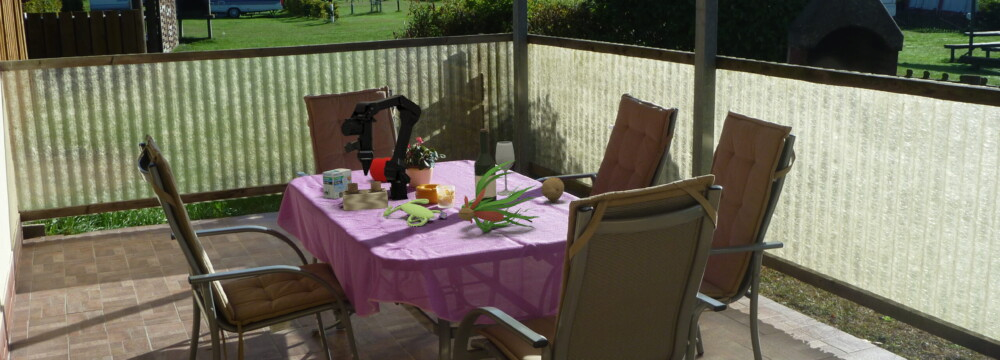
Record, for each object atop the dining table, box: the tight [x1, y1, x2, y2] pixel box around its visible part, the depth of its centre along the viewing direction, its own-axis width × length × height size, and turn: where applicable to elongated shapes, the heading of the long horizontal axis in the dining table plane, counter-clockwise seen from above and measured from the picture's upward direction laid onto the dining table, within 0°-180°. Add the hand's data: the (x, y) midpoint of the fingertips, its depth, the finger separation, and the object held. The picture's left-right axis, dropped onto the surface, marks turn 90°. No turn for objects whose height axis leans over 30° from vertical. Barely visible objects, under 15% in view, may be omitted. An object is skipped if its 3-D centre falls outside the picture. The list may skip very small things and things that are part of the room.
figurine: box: [382, 198, 448, 228], centre depth 396 cm, size 18×27×6 cm
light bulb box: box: [322, 167, 353, 200], centre depth 440 cm, size 11×7×11 cm, turn 143°
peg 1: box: [347, 182, 359, 193], centre depth 417 cm, size 4×4×6 cm
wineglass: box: [495, 141, 516, 196], centre depth 433 cm, size 8×8×21 cm
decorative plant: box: [458, 158, 539, 233], centre depth 372 cm, size 26×25×30 cm
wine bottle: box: [473, 128, 497, 206], centre depth 409 cm, size 8×8×30 cm
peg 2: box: [370, 180, 382, 192], centre depth 418 cm, size 4×4×6 cm
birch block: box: [342, 187, 389, 212], centre depth 418 cm, size 17×10×6 cm, turn 101°
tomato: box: [369, 155, 392, 183], centre depth 470 cm, size 12×13×11 cm
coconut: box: [540, 176, 565, 203], centre depth 414 cm, size 9×9×10 cm
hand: (366, 174), depth 417 cm, fingers open, 9 cm apart
